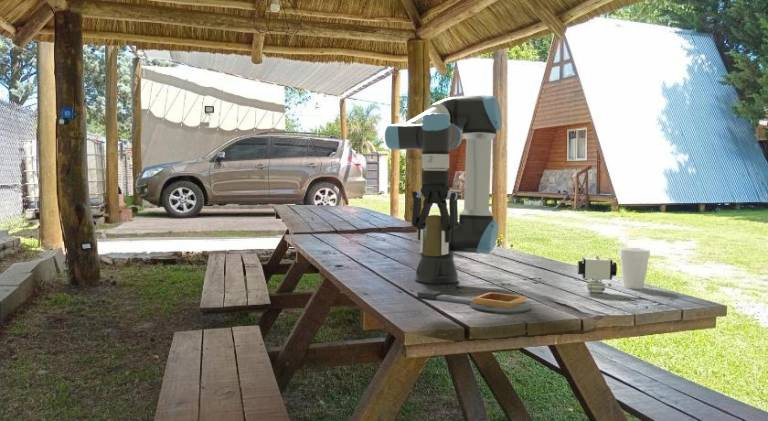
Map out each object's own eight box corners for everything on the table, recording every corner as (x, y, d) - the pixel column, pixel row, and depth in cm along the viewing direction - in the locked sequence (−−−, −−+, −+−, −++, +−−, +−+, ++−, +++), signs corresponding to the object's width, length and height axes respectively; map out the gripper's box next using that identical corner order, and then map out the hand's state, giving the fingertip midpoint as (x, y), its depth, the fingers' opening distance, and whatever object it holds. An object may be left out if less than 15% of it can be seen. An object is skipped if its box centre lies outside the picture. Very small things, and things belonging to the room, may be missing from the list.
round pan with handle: (538, 305, 182) (539, 296, 182) (516, 316, 168) (516, 306, 168) (434, 292, 201) (434, 283, 201) (406, 300, 187) (406, 291, 187)
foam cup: (634, 290, 208) (635, 251, 208) (612, 285, 217) (614, 248, 216) (654, 288, 213) (655, 250, 212) (632, 284, 221) (633, 247, 220)
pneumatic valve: (616, 294, 201) (617, 257, 200) (577, 292, 203) (579, 255, 203) (613, 291, 206) (614, 255, 206) (576, 289, 209) (577, 253, 208)
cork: (447, 253, 177) (447, 214, 176) (442, 256, 171) (442, 216, 170) (426, 252, 179) (427, 214, 178) (420, 255, 173) (421, 215, 172)
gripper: (399, 169, 176) (398, 251, 177) (460, 170, 165) (458, 257, 167) (412, 169, 182) (411, 248, 183) (472, 170, 171) (471, 254, 173)
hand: (434, 252), depth 175 cm, fingers closed on cork, 6 cm apart
